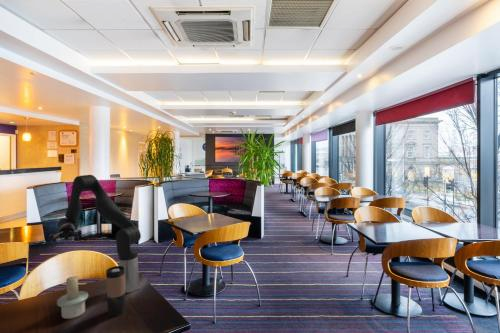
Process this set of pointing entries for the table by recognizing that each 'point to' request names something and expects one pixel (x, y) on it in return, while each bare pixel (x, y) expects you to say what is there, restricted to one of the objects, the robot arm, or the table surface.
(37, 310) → the table surface
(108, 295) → the travel mug
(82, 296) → the lid
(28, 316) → the table surface
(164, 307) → the table surface
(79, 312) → the bowl
